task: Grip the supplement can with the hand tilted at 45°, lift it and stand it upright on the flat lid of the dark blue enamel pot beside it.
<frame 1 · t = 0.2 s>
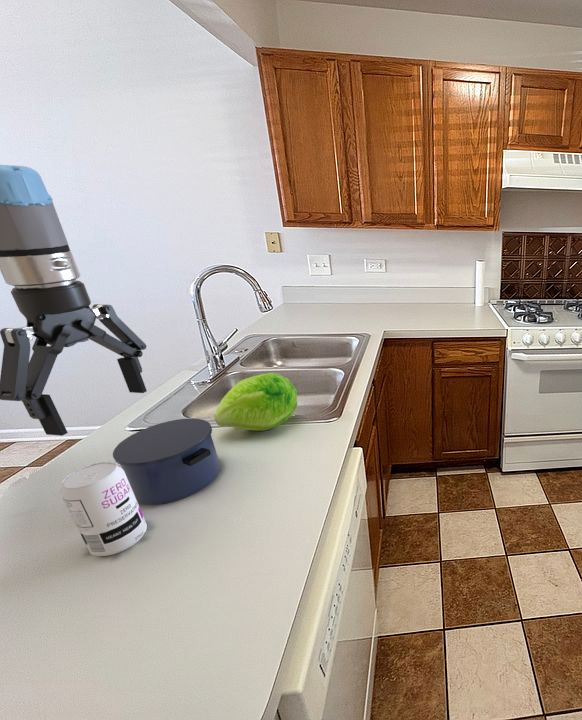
hand: (101, 411, 66), 26 cm above the table, tool pointing down, fingers open, 13 cm apart
lettuce: (263, 427, 109), on the table
pot: (179, 479, 89), on the table
supplement can: (120, 541, 73), on the table
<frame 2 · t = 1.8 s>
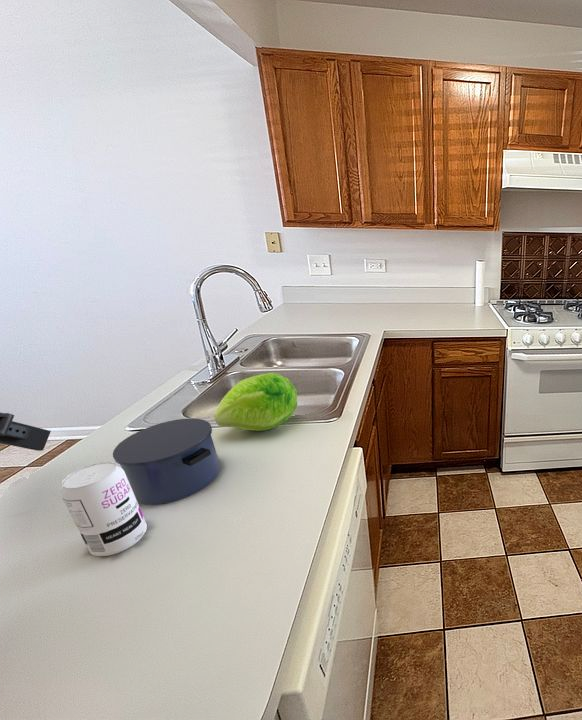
nothing on the table moved.
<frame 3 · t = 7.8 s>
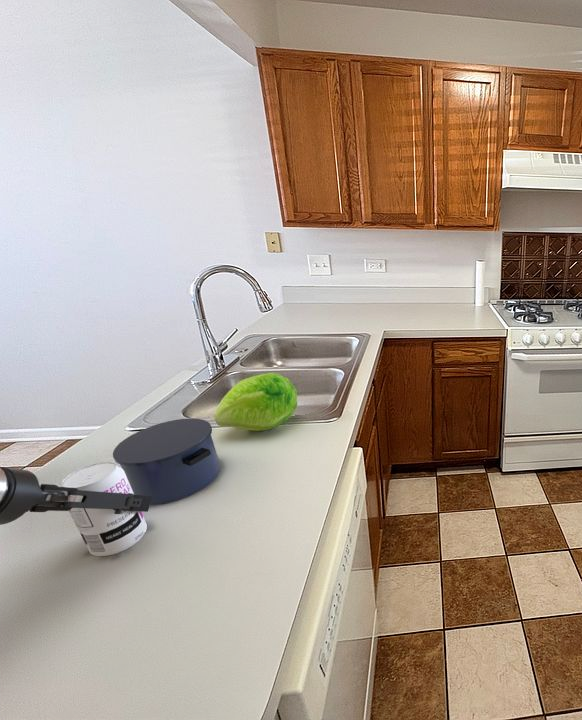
hand: (125, 503, 74), 6 cm above the table, tool tilted 45°, fingers closed on supplement can, 8 cm apart
supplement can: (120, 541, 73), on the table, touching gripper
everything else where it was.
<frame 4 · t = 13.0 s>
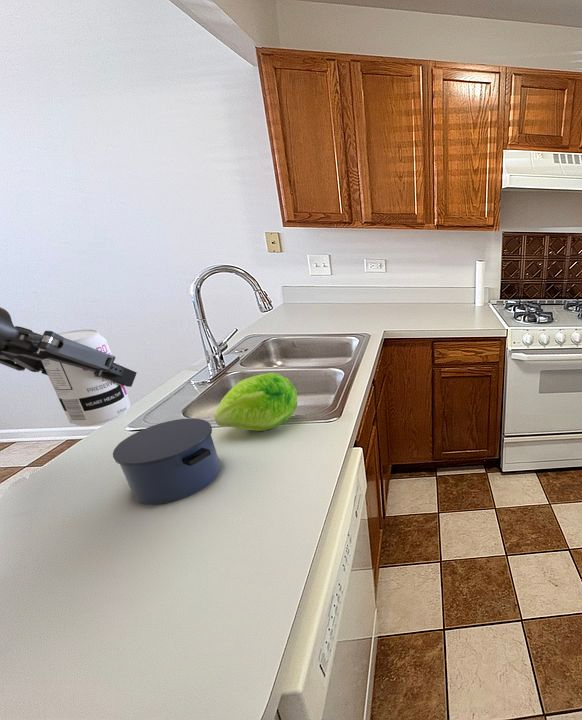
hand: (108, 379, 71), 29 cm above the table, tool tilted 45°, fingers closed on supplement can, 8 cm apart
supplement can: (102, 417, 70), point 23 cm above the table, touching gripper
everything else where it was.
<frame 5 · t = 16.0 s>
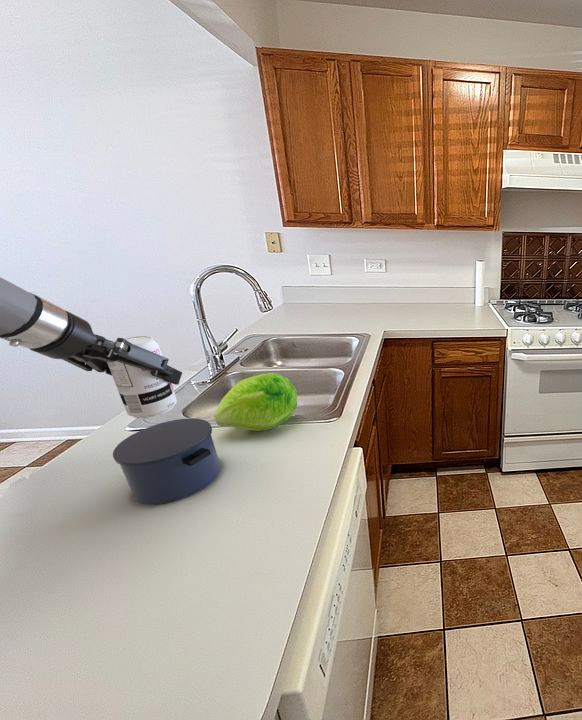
hand: (157, 378, 83), 24 cm above the table, tool tilted 45°, fingers closed on supplement can, 8 cm apart
supplement can: (154, 410, 82), point 18 cm above the table, touching gripper
everything else where it was.
when the fingers open (16 cm above the table, at t = 18.4 s): supplement can stays where it is, resting on pot.
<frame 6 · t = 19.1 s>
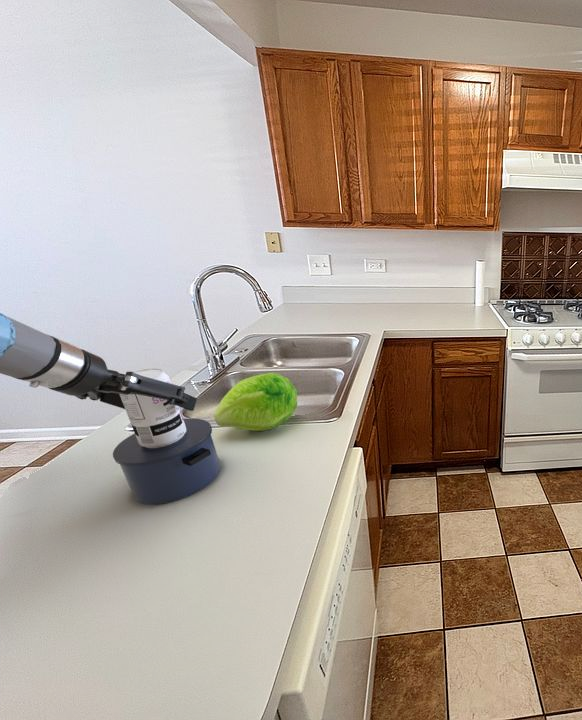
hand: (162, 404, 84), 18 cm above the table, tool tilted 45°, fingers open, 13 cm apart
supplement can: (164, 439, 85), point 11 cm above the table, touching pot
everything else where it was.
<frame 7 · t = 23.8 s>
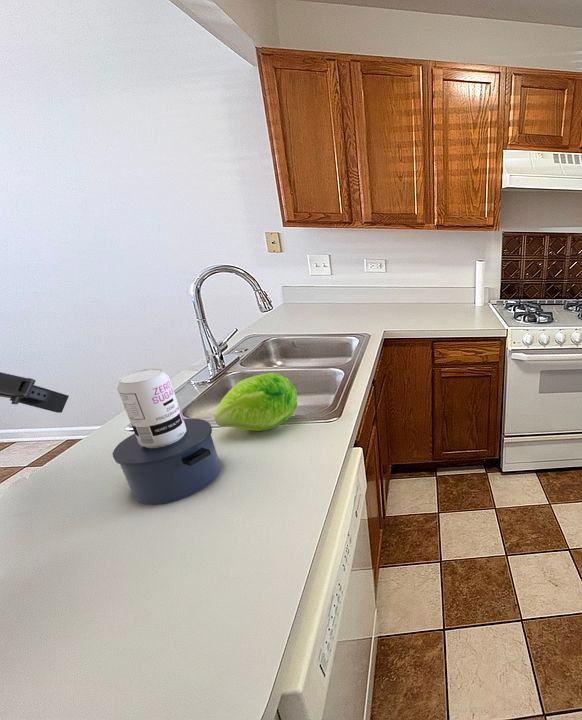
hand: (20, 403, 61), 29 cm above the table, tool tilted 45°, fingers open, 13 cm apart
nothing on the table moved.
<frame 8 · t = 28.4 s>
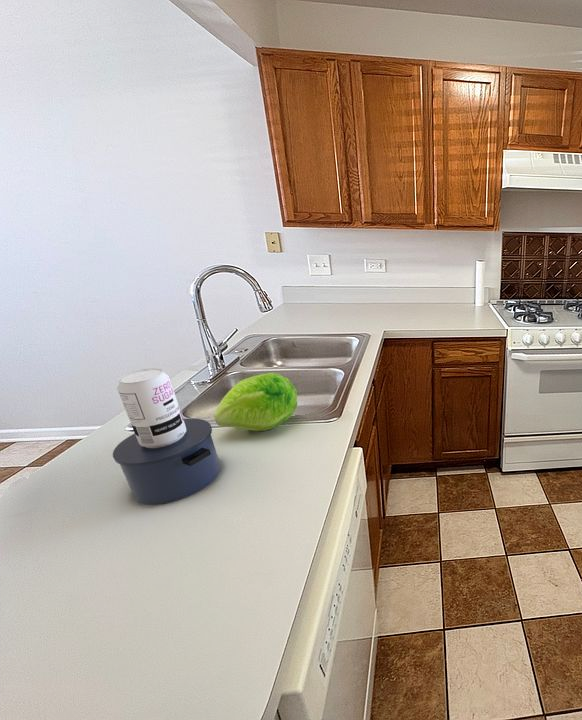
nothing on the table moved.
at the end: supplement can inside the target area on the pot (0.0 cm from its centre), point 10.6 cm above the pot's base; supplement can tilted 0°; the gripper is holding nothing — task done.
